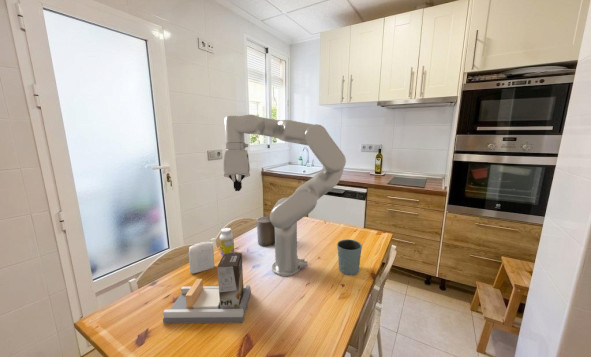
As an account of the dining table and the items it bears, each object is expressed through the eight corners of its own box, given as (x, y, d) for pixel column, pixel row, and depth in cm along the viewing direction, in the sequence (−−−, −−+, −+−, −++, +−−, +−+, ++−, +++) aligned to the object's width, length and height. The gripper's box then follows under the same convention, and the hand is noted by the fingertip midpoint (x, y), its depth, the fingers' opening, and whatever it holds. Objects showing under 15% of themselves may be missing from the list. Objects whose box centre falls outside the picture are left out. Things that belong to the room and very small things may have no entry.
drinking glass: (362, 267, 106) (363, 241, 104) (358, 279, 97) (359, 251, 95) (340, 262, 110) (340, 237, 108) (334, 273, 101) (334, 247, 99)
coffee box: (240, 311, 77) (237, 266, 75) (220, 313, 77) (216, 267, 74) (244, 293, 86) (242, 252, 84) (226, 294, 86) (223, 253, 83)
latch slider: (226, 293, 86) (224, 278, 85) (217, 311, 77) (216, 295, 76) (198, 294, 86) (196, 278, 85) (187, 312, 77) (185, 295, 76)
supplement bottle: (220, 252, 121) (218, 228, 119) (233, 249, 124) (231, 226, 121) (221, 258, 115) (219, 233, 113) (235, 255, 118) (234, 230, 115)
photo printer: (213, 263, 110) (211, 238, 108) (216, 267, 107) (214, 241, 104) (189, 270, 105) (186, 244, 102) (191, 275, 101) (188, 248, 99)
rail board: (251, 293, 89) (250, 282, 88) (242, 322, 75) (241, 309, 74) (183, 294, 89) (182, 283, 88) (163, 323, 75) (161, 310, 74)
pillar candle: (279, 241, 132) (278, 215, 130) (267, 248, 124) (266, 220, 122) (265, 238, 138) (264, 213, 135) (253, 244, 130) (252, 217, 127)
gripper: (255, 146, 102) (256, 188, 105) (220, 146, 102) (223, 188, 105) (252, 147, 94) (254, 192, 98) (214, 147, 94) (217, 192, 98)
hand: (237, 190), depth 101 cm, fingers closed
